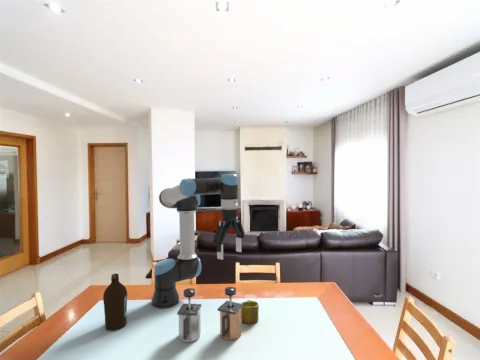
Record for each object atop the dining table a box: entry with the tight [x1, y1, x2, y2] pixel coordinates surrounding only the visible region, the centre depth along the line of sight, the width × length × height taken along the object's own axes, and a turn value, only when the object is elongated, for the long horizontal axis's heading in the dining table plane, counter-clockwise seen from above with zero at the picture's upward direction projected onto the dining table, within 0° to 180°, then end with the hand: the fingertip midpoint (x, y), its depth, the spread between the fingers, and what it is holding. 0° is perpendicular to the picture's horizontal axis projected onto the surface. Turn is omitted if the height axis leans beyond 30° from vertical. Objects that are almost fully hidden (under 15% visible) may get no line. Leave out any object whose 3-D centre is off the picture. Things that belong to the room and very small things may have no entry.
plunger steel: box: [183, 287, 196, 310], centre depth 130 cm, size 6×6×18 cm
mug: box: [240, 299, 260, 324], centre depth 145 cm, size 12×10×10 cm
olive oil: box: [102, 273, 128, 331], centre depth 139 cm, size 11×11×25 cm
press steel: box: [176, 303, 202, 344], centre depth 128 cm, size 12×9×13 cm
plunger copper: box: [224, 286, 237, 308], centre depth 131 cm, size 6×6×18 cm
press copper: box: [217, 300, 243, 341], centre depth 130 cm, size 12×9×13 cm
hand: (229, 255), depth 130 cm, fingers open, 13 cm apart
